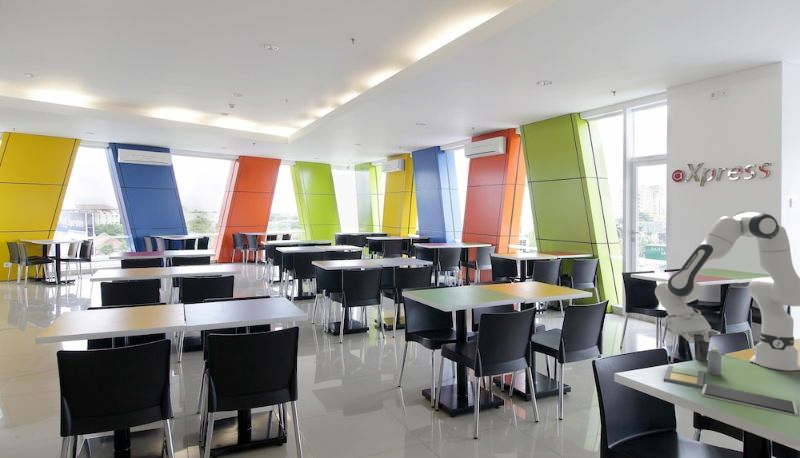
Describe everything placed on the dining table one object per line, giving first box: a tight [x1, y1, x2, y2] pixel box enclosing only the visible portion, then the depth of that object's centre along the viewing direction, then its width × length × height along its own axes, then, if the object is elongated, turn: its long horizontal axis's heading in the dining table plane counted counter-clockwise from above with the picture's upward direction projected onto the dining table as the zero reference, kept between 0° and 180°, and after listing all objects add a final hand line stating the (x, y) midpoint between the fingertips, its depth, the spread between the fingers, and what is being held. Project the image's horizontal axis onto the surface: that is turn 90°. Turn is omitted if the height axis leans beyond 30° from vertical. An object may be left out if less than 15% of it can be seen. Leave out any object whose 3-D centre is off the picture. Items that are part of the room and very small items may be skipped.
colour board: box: [663, 364, 705, 389], centre depth 191 cm, size 22×13×1 cm, turn 146°
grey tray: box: [700, 383, 799, 417], centre depth 167 cm, size 13×27×2 cm, turn 53°
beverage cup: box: [692, 330, 712, 361], centre depth 218 cm, size 7×7×20 cm
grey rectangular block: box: [707, 347, 722, 376], centre depth 197 cm, size 5×5×11 cm
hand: (700, 341), depth 202 cm, fingers open, 8 cm apart
